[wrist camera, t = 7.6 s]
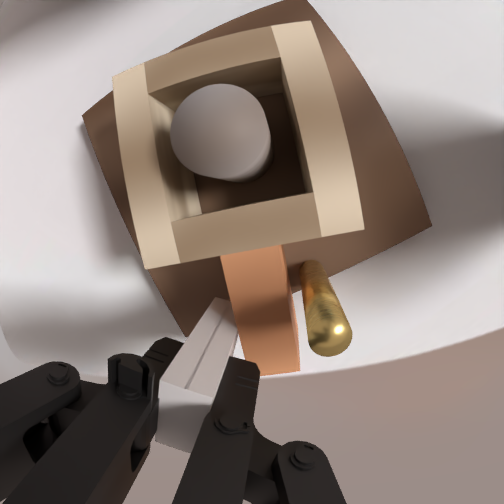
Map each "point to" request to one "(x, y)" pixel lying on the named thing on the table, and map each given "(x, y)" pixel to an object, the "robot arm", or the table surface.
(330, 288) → the dowel
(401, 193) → the base
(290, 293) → the hollow square frame
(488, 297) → the table surface
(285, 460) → the robot arm
